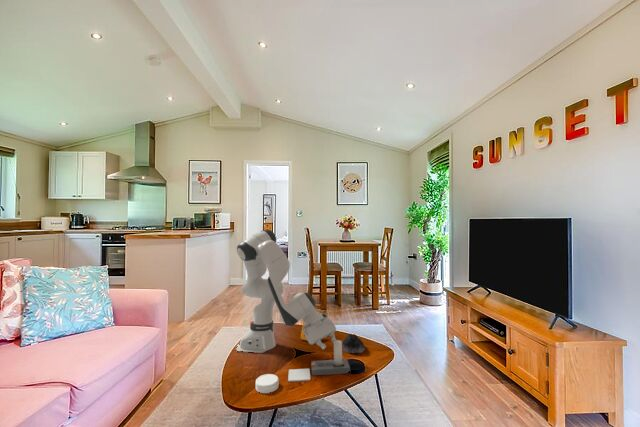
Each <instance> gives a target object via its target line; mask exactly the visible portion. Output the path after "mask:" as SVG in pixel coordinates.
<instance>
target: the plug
mask: <svg viewBox="0 0 640 427" xmlns="http://www.w3.org/2000/svg"><path fill="white" fill-rule="evenodd" d="M343 359H344V358H343V341H342V340H340V339H339V340H338V339H336V341H334V343H333V359H332V360H333V365H334V367H337V366H342V365H343V364H344V360H343Z"/></svg>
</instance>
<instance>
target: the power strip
mask: <svg viewBox="0 0 640 427" xmlns="http://www.w3.org/2000/svg"><path fill="white" fill-rule="evenodd" d="M342 359H343V360H344V364H343V365H344V366H337V367H334V365H333V360H334V359H327V360H326V359H325V360H324V359H322V360H311V361H310V362H311V363H310V364H311V365H310V366H311V375H312V376H323V375H324V376H325V375H341V374H342V375H343V374H344V375H345V374H349V373H348V372H349V371H350V372H351V366H350V364H349V361H348V359H347V358H342Z"/></svg>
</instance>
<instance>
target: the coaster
mask: <svg viewBox="0 0 640 427" xmlns="http://www.w3.org/2000/svg"><path fill="white" fill-rule="evenodd" d="M279 380H280V379H279V377H278V376H277V375H276V374H272V373H266V374H262V375H259V376H258V377H257V378H256V379H255V390H256V391H257V392H258V393H259V392H260V393H259V394H270V392H271V393H272V392H275V391H276V390H277V389H278V388H279V386H280V385H279V383H280V382H279Z"/></svg>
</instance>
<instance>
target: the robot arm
mask: <svg viewBox="0 0 640 427" xmlns="http://www.w3.org/2000/svg"><path fill="white" fill-rule="evenodd" d="M236 253H237V255H238V256H239V258H240V259H241V260H242V261H243V263H244V266H245V269H246V270H245V271H246V274H247V279H246V280H244V282H243V283H242V288H241V291H242V294H244V296H246V297H250V298H253V299H254V298H255V299H256V298H257V299H261V300H260V303H258V304H257V305H256V306H255V307H253V308H254V309H253V315H252V316H253V317H252V318H253V320H251V321H250V323H249V329H247V331H246V332H244V334H242V335H241V338H240V342H239V343H240V345H239V343H238V344H237V345H236V347H237V346H238V347H237V348H236V347H235V350H237V351H243V352H242V353H248V352H254V353H255V354H256V353H257V354H262V353H265V352H266V351H267V352H268V351H270V350H272V349H274V348H275V347H276V346H277V344H276V340H275V334H274V328H275V327H274V326H275V324H274V323H275V322H274V320H273V317H274V316H273V314H274V310H273V309H274V306H275V304H276V306H277V310H278V312H279V313H278V314H279V316H280V319H281V321H282V323H284V325H285V326H289V327H290V326H291V327H292V326H295V325H296V324H297V323H298V322H299V321H300V320H301V319H302V321H303V322H304V323H305V325H306V326H304V327H303V332H304V334H305V337H306V339H307V340H308V341H307V342H308V344H309V345H314V344H316V345H317V346H319V347H320V348H321V349H322V350H325V349H326V348H327V345H326V344H325V343H323V342H322V340H324V339H325V338H327V337H328V336H329V337H330V338H331V342H332V343H333V344H334V341H336V340H337V339H336V335H335V332H336V331H337V327H336V325H335V324H334V322H333V320H331V319H330V318H329V316H328V314H327V313H322V312H321V313H320V312H318V310H316V309H315V307H316V304H317V301H316V300H315V298H313V296H312V295H311V293H310V292H298V293H296V294H295V295H294V296H293V297H292V298H291V301H290V302H288V303H285V300H284V297H283V293H284V285H283V283H282V281H283V280H284V279H285V277H286V276H287V274H288V272H289V270H290V267H291V265H290V264H291V262H290V261H289V259H288V257H287V255H286V254H285V252H284V251H283V250H282V248H281V247H280V246H279V244H278V243H277V236H276V234H275V233H274V232H273V230H271V229H269V228H268V229H263V230H261V231H258V232H256V233H254V234H252V235H251V236H249V237H247V238H246V239H245V240H243V241H241V242H240V243H239V244H238V245H237V246H236ZM267 270H268V277H267V278H263V276H264V275H265V274H266V272H267ZM303 322H302V323H303ZM237 351H236V352H237ZM254 353H253V354H254Z"/></svg>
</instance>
